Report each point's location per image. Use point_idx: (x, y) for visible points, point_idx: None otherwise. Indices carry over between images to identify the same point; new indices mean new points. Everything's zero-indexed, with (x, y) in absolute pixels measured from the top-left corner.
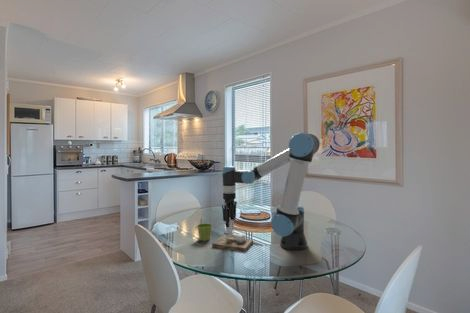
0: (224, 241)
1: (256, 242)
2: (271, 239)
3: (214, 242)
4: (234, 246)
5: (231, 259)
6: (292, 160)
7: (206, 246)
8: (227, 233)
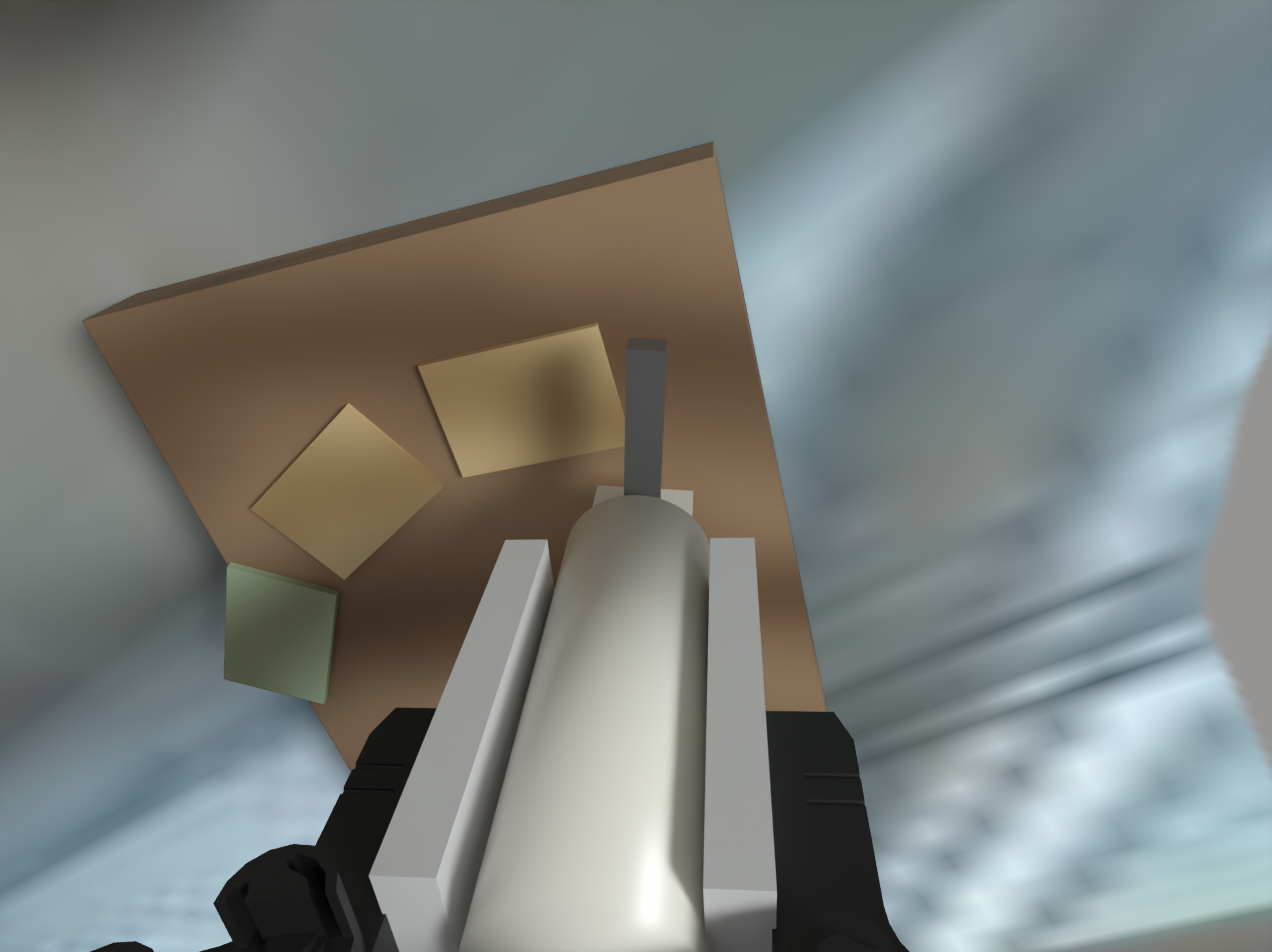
0: (386, 494)
1: (902, 819)
2: (1164, 932)
3: (173, 321)
4: (346, 752)
5: (100, 806)
6: None
7: (45, 140)
8: (647, 459)
